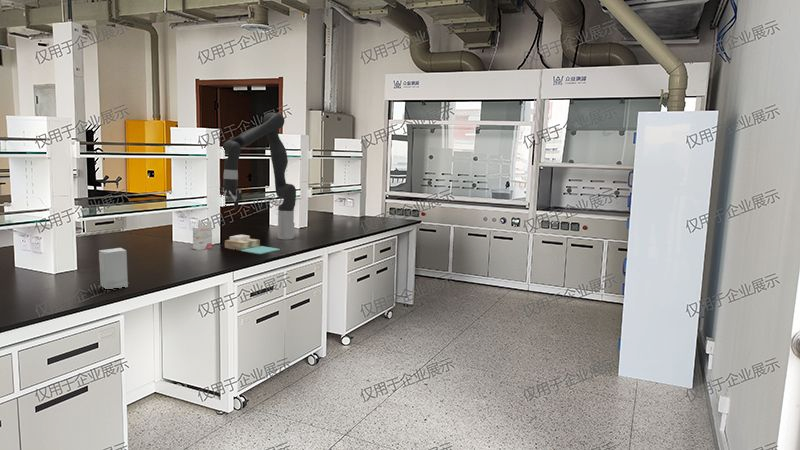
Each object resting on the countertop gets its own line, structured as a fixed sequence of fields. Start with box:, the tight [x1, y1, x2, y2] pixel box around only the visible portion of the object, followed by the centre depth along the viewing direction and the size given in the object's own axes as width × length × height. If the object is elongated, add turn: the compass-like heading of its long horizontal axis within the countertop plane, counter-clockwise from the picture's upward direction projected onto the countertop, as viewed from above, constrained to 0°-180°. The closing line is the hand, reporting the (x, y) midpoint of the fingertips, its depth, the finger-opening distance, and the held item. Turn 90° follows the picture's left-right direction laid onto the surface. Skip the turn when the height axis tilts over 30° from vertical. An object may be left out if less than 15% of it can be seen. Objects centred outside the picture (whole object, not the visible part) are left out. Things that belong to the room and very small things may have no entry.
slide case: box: [229, 234, 251, 241], centre depth 303 cm, size 9×6×2 cm, turn 153°
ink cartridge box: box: [192, 220, 213, 251], centre depth 294 cm, size 9×5×15 cm, turn 143°
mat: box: [240, 245, 281, 255], centre depth 297 cm, size 16×13×1 cm
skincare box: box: [98, 247, 129, 290], centre depth 211 cm, size 8×6×15 cm
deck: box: [224, 237, 261, 251], centre depth 303 cm, size 14×12×4 cm
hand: (229, 207), depth 306 cm, fingers open, 8 cm apart
